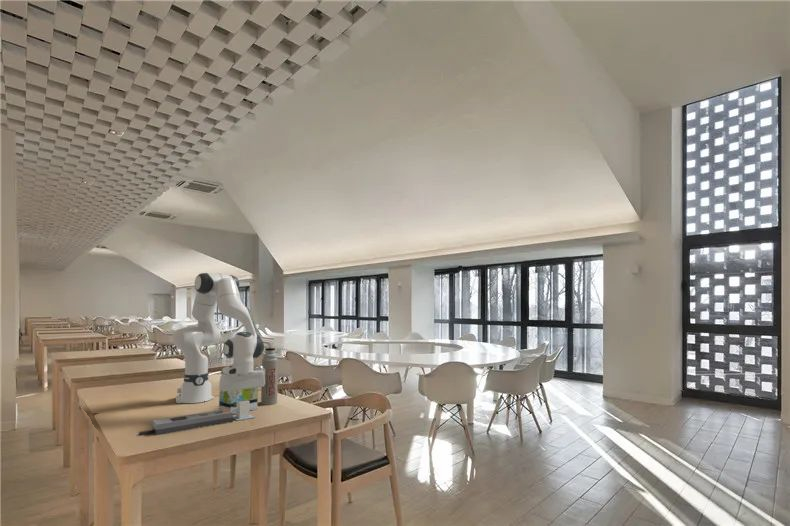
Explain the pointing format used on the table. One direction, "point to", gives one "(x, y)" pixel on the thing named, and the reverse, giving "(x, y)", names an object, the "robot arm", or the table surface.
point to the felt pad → (243, 418)
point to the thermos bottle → (270, 377)
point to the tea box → (237, 399)
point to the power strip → (189, 421)
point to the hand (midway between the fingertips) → (242, 398)
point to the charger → (242, 409)
